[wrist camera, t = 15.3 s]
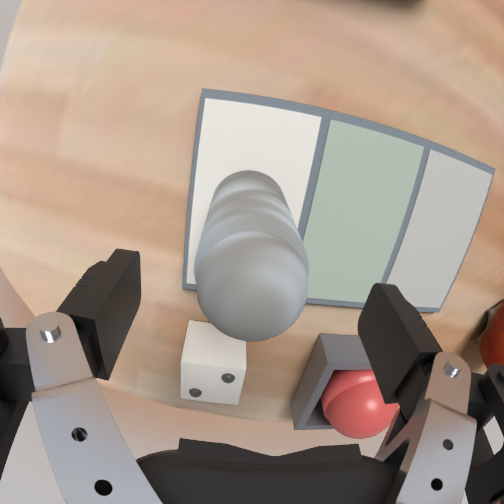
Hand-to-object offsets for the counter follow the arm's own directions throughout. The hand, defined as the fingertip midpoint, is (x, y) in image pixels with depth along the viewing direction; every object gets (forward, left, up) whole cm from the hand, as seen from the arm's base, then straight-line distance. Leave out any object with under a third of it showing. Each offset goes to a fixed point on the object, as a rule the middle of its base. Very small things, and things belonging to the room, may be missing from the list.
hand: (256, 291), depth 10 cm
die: (+1, +11, -8) cm, 14 cm away
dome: (-11, +13, -8) cm, 19 cm away
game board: (-6, 0, -8) cm, 10 cm away
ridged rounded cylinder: (0, 0, -8) cm, 8 cm away
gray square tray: (-11, +13, -8) cm, 19 cm away
